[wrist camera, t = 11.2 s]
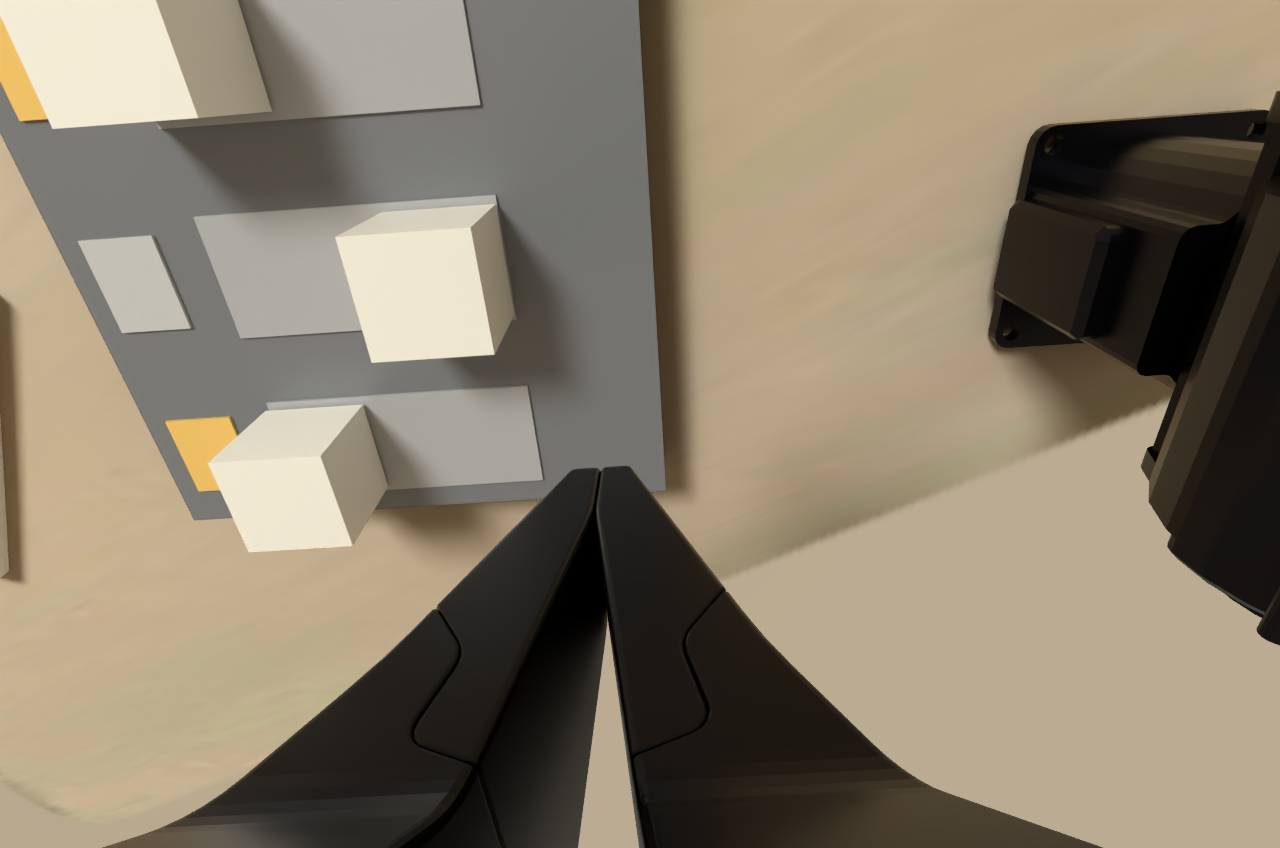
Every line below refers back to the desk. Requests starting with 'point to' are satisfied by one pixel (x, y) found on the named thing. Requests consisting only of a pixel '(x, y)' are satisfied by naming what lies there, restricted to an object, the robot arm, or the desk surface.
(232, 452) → the tab
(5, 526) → the external hard drive
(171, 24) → the tab
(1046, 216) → the robot arm
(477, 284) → the tab
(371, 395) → the switch panel
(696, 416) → the desk surface
